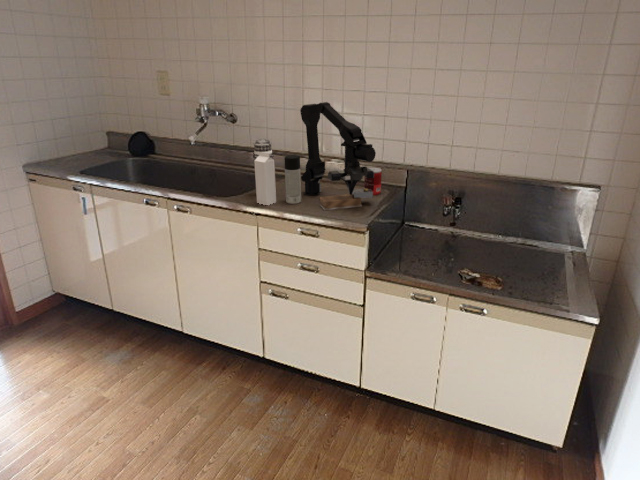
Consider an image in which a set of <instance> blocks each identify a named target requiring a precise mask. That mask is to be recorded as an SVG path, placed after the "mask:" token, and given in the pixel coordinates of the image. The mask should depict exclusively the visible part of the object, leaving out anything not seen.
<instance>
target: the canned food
mask: <svg viewBox="0 0 640 480" xmlns="http://www.w3.org/2000/svg"><path fill="white" fill-rule="evenodd" d="M367 169H371V170H372V171H373V172H374V178H367V177H366V176H364V186H363V187H364V188H368V189H371V190H372V191H373V196H378V195H381V191H382V176H383V174H382V172H383V171H382V170H383V169H381V168H380V167H367ZM364 188H363V189H364Z"/></svg>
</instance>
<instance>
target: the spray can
mask: <svg viewBox="0 0 640 480" xmlns="http://www.w3.org/2000/svg"><path fill="white" fill-rule="evenodd" d="M301 176H302V174H301V156H300V155H297V154H289V155H285V157H284V180H285V181H284V183H285V186H284V187H285V201H286V203H287V204H291V205H292V204H293V205H297V204H300V203H301V202H302V189H301V188H302V186H301V185H302V183H301V181H302V178H301Z"/></svg>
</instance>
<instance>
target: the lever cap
mask: <svg viewBox="0 0 640 480" xmlns="http://www.w3.org/2000/svg"><path fill="white" fill-rule="evenodd" d="M352 196H353V197H354V198H361V199H365V198H370V199H372V198H374V195H373V191H372V190H371V189H368V188H354V190H353V192H352Z"/></svg>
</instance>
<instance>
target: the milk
mask: <svg viewBox="0 0 640 480" xmlns="http://www.w3.org/2000/svg"><path fill="white" fill-rule="evenodd" d="M272 158H273V157H272ZM272 158H270V157H269V153H263V152H259V156H258V157H257V158H256V159H255V158H254V159H255V160H254V159H253V165H254V164H255V166H254V168H255V169H254V176H255V177H254V178H255V180H256V182H255V193H256V204H257V203H259V204H258V205H261V204H263V205H262V206H265V205H268V206H270V204H271V205H274V204H276V203H277V192H276V190H277V189H276V168H275V158H273V159H272ZM273 203H274V204H273Z"/></svg>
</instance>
